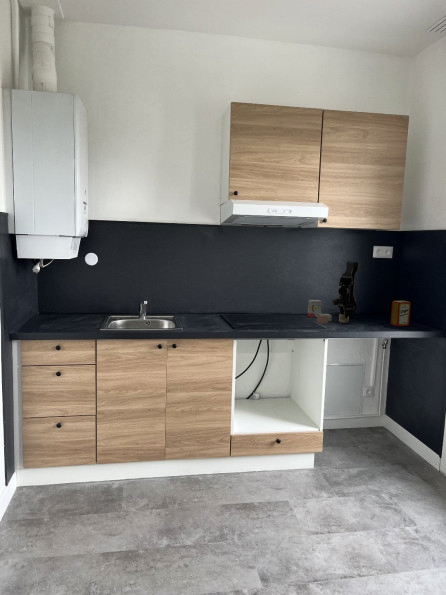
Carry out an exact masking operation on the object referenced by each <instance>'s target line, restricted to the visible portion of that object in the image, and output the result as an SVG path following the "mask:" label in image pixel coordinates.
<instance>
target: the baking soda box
mask: <svg viewBox="0 0 446 595" xmlns="http://www.w3.org/2000/svg"><path fill="white" fill-rule="evenodd" d="M411 305H412V302H411V301H409V300H408V301H406V300H392V301H391V313H390V325H392V326H395V327H405V326H406V327H409V326H410V318H411V308H412V306H411Z"/></svg>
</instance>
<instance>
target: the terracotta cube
mask: <svg viewBox="0 0 446 595" xmlns="http://www.w3.org/2000/svg"><path fill="white" fill-rule="evenodd" d="M316 318H317V319H316V323H318V324H328V323H329V321H328V316H327V315H317V317H316Z"/></svg>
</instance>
